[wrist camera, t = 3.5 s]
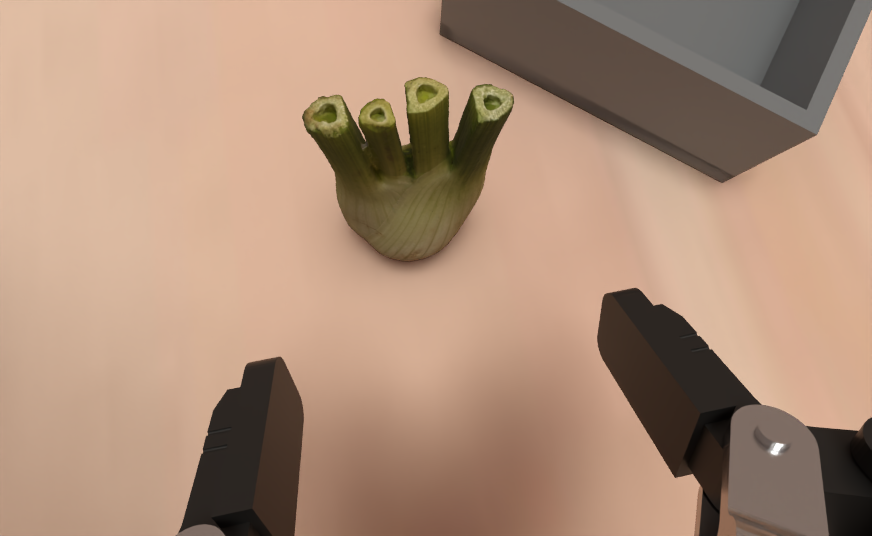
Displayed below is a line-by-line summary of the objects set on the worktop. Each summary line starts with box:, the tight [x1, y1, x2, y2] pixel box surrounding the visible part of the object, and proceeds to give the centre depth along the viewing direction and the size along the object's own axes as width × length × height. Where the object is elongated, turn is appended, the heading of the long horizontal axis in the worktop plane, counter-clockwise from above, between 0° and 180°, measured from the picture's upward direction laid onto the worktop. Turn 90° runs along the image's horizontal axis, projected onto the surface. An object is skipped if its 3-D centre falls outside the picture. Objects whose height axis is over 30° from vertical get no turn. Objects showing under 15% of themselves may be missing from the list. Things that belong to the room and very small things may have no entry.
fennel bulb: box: [302, 77, 514, 261], centre depth 18 cm, size 6×5×12 cm
